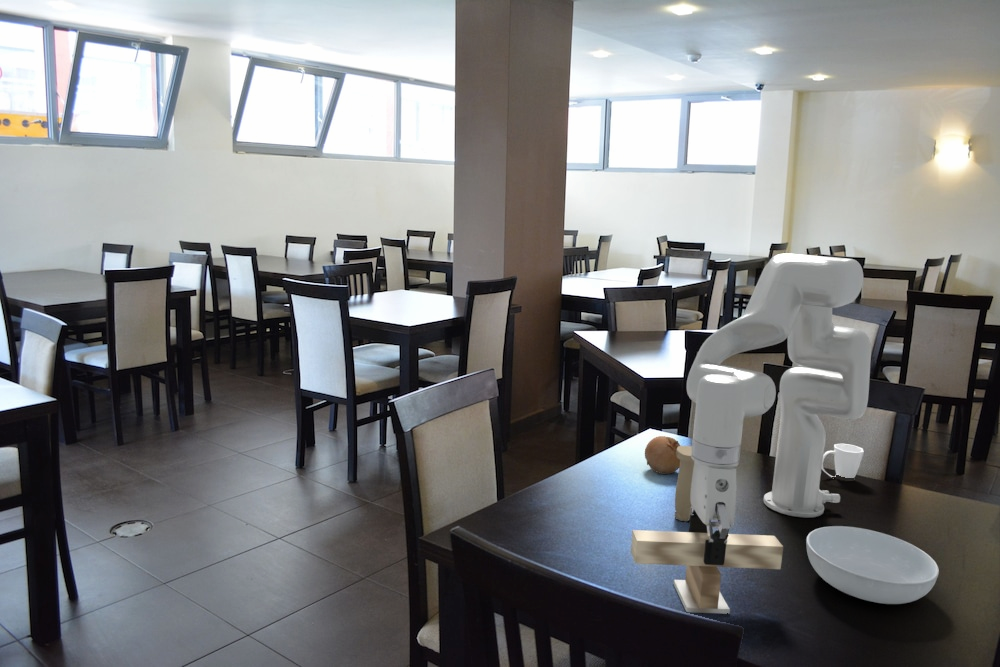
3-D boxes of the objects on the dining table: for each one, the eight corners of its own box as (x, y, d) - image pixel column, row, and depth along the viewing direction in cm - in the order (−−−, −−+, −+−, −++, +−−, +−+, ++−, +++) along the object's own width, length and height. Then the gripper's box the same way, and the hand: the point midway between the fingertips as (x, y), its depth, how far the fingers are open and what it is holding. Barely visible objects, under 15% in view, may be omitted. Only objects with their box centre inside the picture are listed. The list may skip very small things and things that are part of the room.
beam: (771, 557, 126) (774, 535, 125) (780, 569, 122) (783, 546, 122) (630, 552, 126) (632, 529, 125) (635, 563, 122) (636, 540, 121)
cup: (865, 484, 182) (870, 453, 180) (825, 483, 181) (829, 451, 180) (851, 474, 189) (855, 443, 187) (812, 472, 188) (816, 442, 187)
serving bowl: (873, 631, 118) (879, 591, 117) (776, 569, 137) (781, 534, 136) (961, 607, 126) (967, 570, 125) (859, 552, 145) (863, 519, 144)
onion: (676, 486, 183) (696, 456, 178) (643, 477, 181) (662, 447, 176) (666, 460, 191) (684, 431, 186) (633, 452, 189) (652, 422, 184)
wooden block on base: (713, 585, 130) (717, 549, 128) (729, 613, 121) (733, 575, 120) (673, 583, 130) (676, 547, 128) (686, 612, 121) (690, 573, 119)
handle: (690, 513, 160) (697, 446, 157) (697, 526, 154) (704, 456, 151) (668, 511, 160) (674, 445, 157) (674, 524, 154) (680, 455, 151)
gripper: (757, 471, 112) (745, 577, 115) (722, 435, 129) (712, 528, 132) (707, 469, 112) (696, 575, 115) (679, 433, 129) (670, 526, 132)
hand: (705, 550), depth 124 cm, fingers open, 9 cm apart
